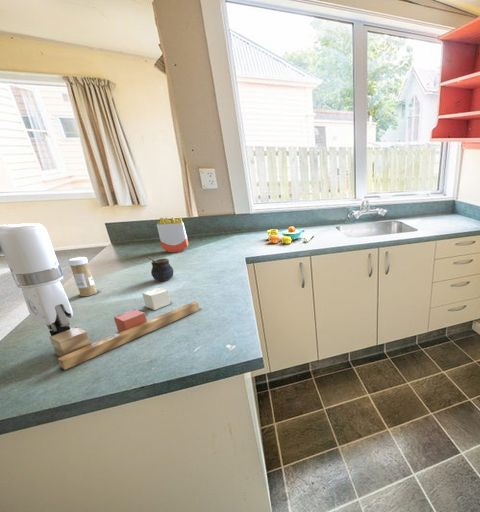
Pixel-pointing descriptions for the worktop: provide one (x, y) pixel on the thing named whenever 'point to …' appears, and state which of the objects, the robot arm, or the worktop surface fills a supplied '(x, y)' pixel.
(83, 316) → the worktop surface
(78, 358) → the rail
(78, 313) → the worktop surface
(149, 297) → the cream block
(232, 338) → the worktop surface
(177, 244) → the french fries container
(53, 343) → the maple block
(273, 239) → the toy juicer set
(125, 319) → the terracotta block
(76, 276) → the sprinkles bottle
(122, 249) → the worktop surface
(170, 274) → the mate gourd
